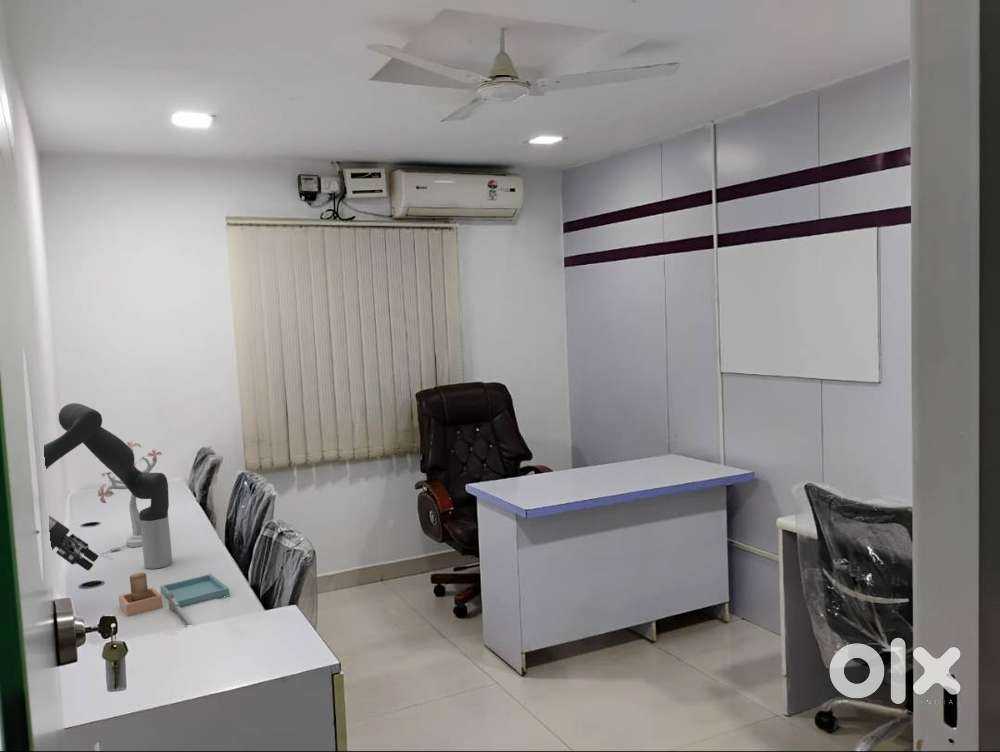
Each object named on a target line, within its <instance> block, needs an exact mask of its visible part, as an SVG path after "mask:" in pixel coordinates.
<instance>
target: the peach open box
mask: <svg viewBox="0 0 1000 752" xmlns="http://www.w3.org/2000/svg"><path fill="white" fill-rule="evenodd" d="M147 588H148V587H147ZM162 597H163V596H162V595H161V593H159V592H158V591H157V590H156V589H155V588H154V587H149V588H148V599H144V600H140V601H136V602H132V595H131V592H129V593H124V594H120V595H118V602H119V608H120V609H121V611H122V612H123V613H124V614H125V616H126V617H131V616H134V615H138V614H142V613H146V612H151V611H153V610H157V609H162V608H163V598H162Z"/></svg>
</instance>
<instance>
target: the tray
mask: <svg viewBox="0 0 1000 752" xmlns="http://www.w3.org/2000/svg"><path fill="white" fill-rule="evenodd" d="M159 587H160V594H162V595H163V596H164V597H165V598H166V599H167V600H168V595H169V593H170V592H172V593H173V594H174V598H175V599H176V601H177V602H178V603H179V606H180V607H181V608H184V607H187V606H190V605H194V604H195V605H196V604H199V603H204V602H207V601H210V600H214V599H217V600H219V599H218V598H220V599H222V598H221V597H224V596H227V595H229V596H230V588H229V587H228V586H227V585H226V584H224V583H223V582H222V581H220V580H219V578H217V577H215V575H213V574H212V573H208V574H203V575H200V576H196V577H195V576H194V577H193V578H188V579H184V580H180V581H175V582H171V583H168V584H164V585H160V586H159ZM227 597H228V596H227ZM224 598H225V597H224Z"/></svg>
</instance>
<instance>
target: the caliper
mask: <svg viewBox="0 0 1000 752" xmlns="http://www.w3.org/2000/svg"><path fill="white" fill-rule="evenodd" d="M167 600H168V609H169V610H170V612H174V613H176V614H178V616H179V617H180V619H181V620H182V622H184V624H185V625H193V626H194V624H193V623H192V621H191V619H190V618H189V617H188V616H187V614H186V613H185V612H184V610H183V609H182V607H180V606H179V603H178V602H177V601H176V599H175V598H174V594H173V593H172V592H170V593H169V595H168V599H167Z"/></svg>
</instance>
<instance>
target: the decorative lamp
mask: <svg viewBox="0 0 1000 752" xmlns="http://www.w3.org/2000/svg"><path fill="white" fill-rule="evenodd" d="M133 443H134V441H133V440H132V441H126V445H127V446H128V447H129V448H130V449H131V450H132V451H133V452H134V449H133V447H138V448H141V449H142V448H143V447H142V446H141V444H140V443H138V442H137V443H134V444H133ZM162 455H163V453H162V452H161V451H157V449H155V448H153V449H151V452H148V453H147V455H146V457H152V461H151V463H150V460H149V459H147V458H146V457H145V455H142V457H141V458H140V459H139V463H141V461H142V460H143V461H145V463H146V464H147V467H146V468H145V469H143V470H140V471H141V472H144V473H151V471H152V470H153V468H154V467H155V466H156V463H157V461H158V458H157V456H162ZM136 463H138V462H137V461H134V466H135V467H136V466H137V465H136ZM113 474H114V473H113V472H112V471H109V472H103V473H102V474H101V476H102V477H103V478H104V477H105V476H106V475H107V477H108V479H109V481H108V482H109V483H111V485H108V487H107V489H105V487H106V484H107V483H104V484H102V485H101V486H100V488H99V489H98V490H97V497H99V500H100V502H101V503H102V504H107V501H106V500H105V497H106V498H110V497H112V496H113V495H115V492H113V491H112V490H129V489H128V488H127V487H126V485H125V484H124V483H123V482H122V481H121V480H120V479H119V480H117V479H116V478H115V477H116V475H114V476H112V477H111V476H110V475H113ZM104 491H105V492H104ZM130 493H131V492H130ZM139 513H140V511H139V509H138V505H137V497H135V496H134V495H133V494H132V493H131V495H130V500H129V514H130V516H129V517H130V522H131V529H132V534H131V535H130V536H129V538H126V541H125V542H126V544H124V545H122V546H115V547H111V548H109V550H107V551H104V552H102V553H99V555H100V556H102V557H105V558H109V559H111V560H114V558H113V557H111V556H110V557H109V556H107V555H103V554H108V553H109V552H115V551H119V550H121V548H125V547H129V548H138V547H139V548H140V547H143V546H142V536H141V526H140V516H139Z"/></svg>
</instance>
